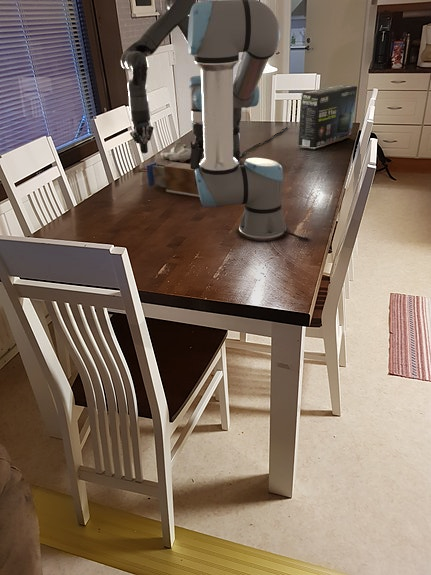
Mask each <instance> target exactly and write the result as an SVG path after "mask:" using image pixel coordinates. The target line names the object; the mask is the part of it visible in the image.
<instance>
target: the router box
mask: <svg viewBox="0 0 431 575" xmlns="http://www.w3.org/2000/svg"><path fill="white" fill-rule="evenodd" d="M357 93H358V86H356V85H350V84H339V85H338V84H337V85H334V86H328V87H324V88H318V89H314V90H309V91H304V92H301V93H300V109H299V110H300V111H299V124H298V137H297V146H298V145H302V146H307V147H317V146H320V145H323V144H325V143H328V142H331V141H333V140H336V139H338V138H341V137H344V136H347V135H351V136H352V133H353V132H352V131H353V125H354V115H355V109H356V99H357ZM311 151H313V150H312V149H311Z"/></svg>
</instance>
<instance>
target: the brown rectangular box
mask: <svg viewBox="0 0 431 575" xmlns="http://www.w3.org/2000/svg"><path fill="white" fill-rule="evenodd" d="M164 172H165V182H166V187H165V192H166V193H173V194H179V195H184V196H185V195H186V196H190V197H191V196H192V197H197V198H200V197H199V193H198V188H197V186H195V172H194V169H191V163H185V162H178V161H171V162H170V163H168V164H165V166H164Z"/></svg>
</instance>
